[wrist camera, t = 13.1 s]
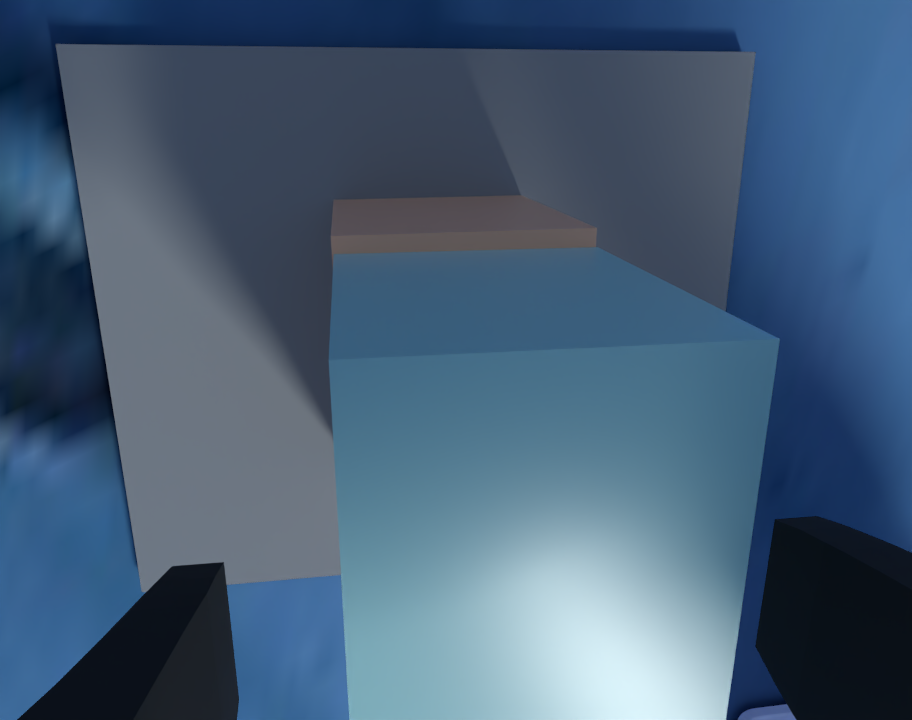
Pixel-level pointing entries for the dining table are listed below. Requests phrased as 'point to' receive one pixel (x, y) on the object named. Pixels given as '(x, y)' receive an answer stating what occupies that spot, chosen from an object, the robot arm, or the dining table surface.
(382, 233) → the terracotta brick
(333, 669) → the dining table surface
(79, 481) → the dining table surface
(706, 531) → the teal brick
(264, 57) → the build mat
